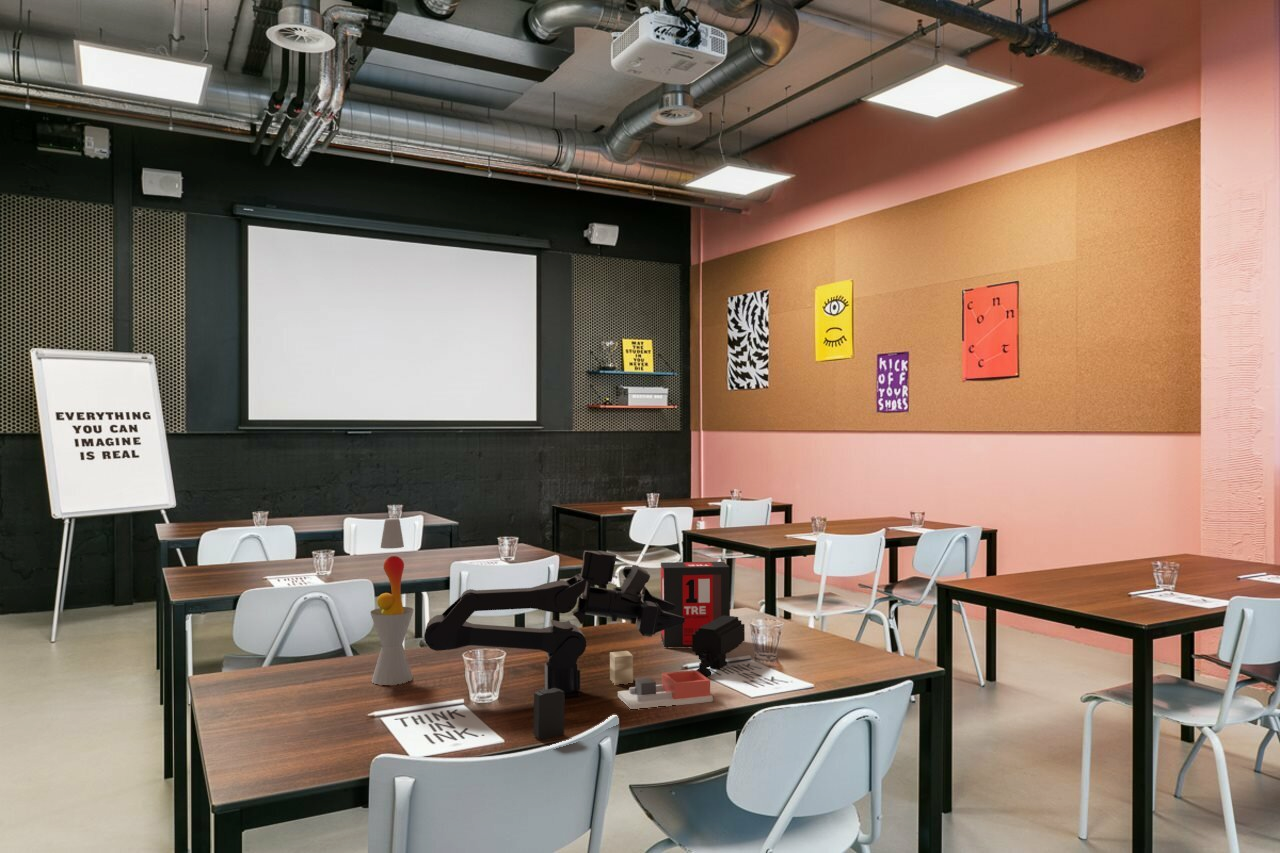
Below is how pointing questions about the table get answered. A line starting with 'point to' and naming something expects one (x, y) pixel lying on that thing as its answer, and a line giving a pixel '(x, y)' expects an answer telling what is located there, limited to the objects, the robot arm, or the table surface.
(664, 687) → the slide switch base
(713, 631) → the security camera
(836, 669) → the table surface
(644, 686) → the toggle
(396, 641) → the lava lamp
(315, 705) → the table surface
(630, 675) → the block
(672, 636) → the cleaning product box
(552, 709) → the ink cartridge
